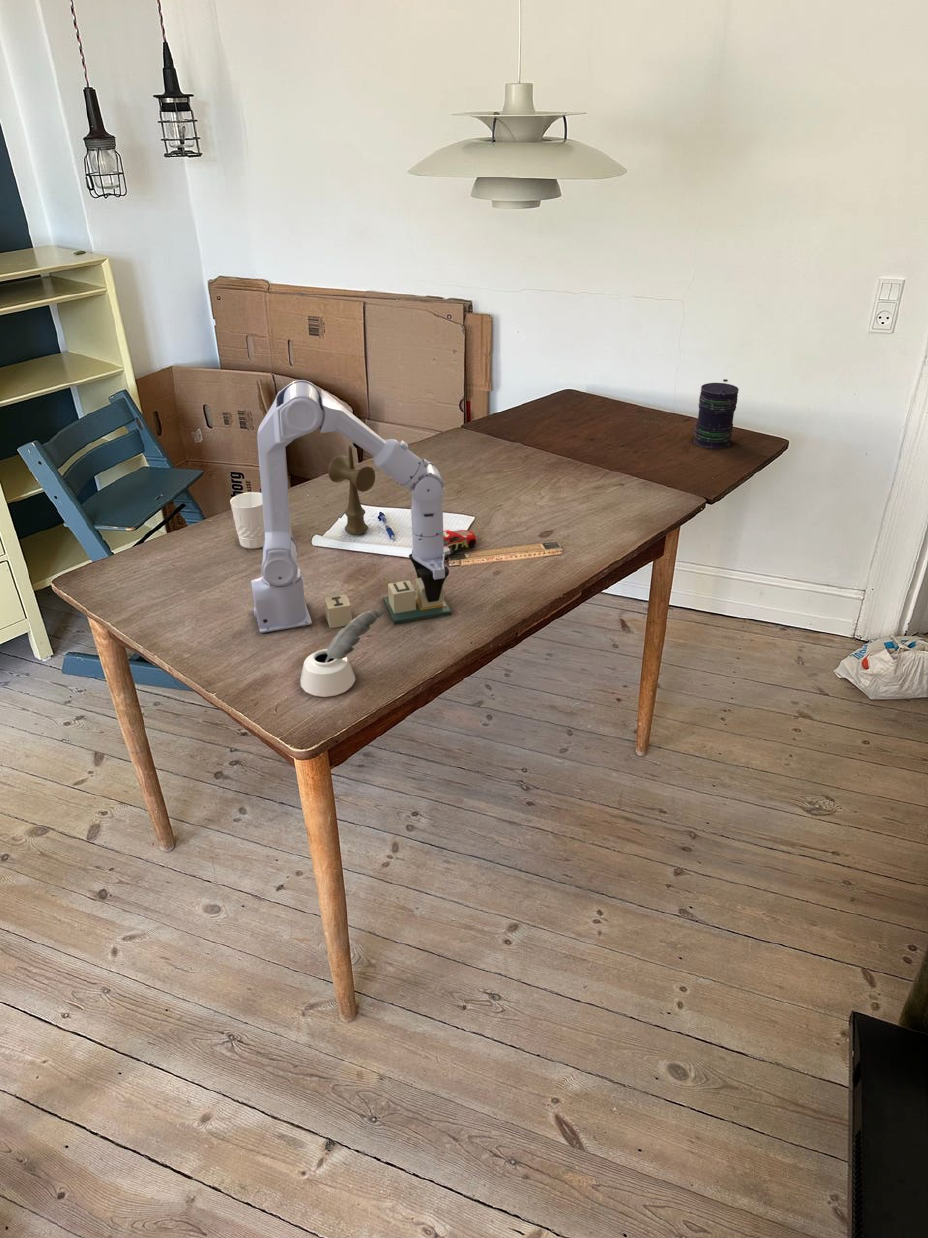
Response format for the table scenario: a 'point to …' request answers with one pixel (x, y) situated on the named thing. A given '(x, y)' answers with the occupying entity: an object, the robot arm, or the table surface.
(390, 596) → the U block
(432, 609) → the green board
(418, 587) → the block
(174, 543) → the table surface
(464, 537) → the race car
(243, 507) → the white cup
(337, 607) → the block
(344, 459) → the kendama
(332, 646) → the inkwell
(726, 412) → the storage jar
